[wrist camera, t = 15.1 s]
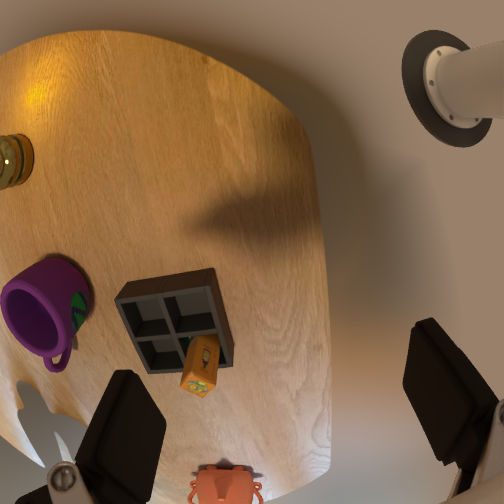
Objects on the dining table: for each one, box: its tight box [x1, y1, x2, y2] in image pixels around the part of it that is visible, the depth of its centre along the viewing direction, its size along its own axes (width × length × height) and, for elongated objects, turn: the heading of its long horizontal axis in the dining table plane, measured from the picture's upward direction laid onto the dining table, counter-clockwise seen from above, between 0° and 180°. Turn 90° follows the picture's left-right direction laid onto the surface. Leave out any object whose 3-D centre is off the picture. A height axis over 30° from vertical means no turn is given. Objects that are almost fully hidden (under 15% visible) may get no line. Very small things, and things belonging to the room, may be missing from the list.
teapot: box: [188, 465, 263, 504], centre depth 49 cm, size 15×17×13 cm
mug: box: [0, 258, 90, 373], centre depth 33 cm, size 17×11×10 cm, turn 172°
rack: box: [114, 268, 234, 374], centre depth 36 cm, size 12×12×5 cm
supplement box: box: [180, 333, 221, 398], centre depth 34 cm, size 3×3×10 cm
